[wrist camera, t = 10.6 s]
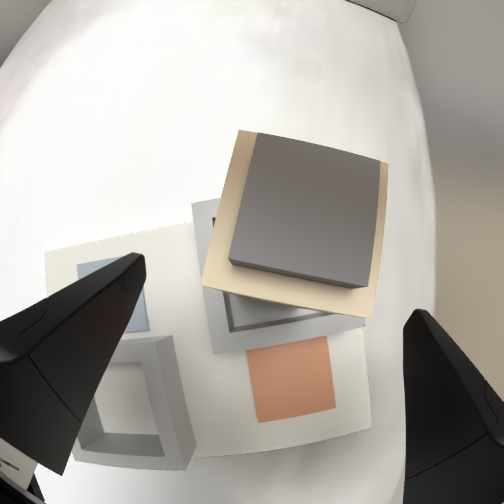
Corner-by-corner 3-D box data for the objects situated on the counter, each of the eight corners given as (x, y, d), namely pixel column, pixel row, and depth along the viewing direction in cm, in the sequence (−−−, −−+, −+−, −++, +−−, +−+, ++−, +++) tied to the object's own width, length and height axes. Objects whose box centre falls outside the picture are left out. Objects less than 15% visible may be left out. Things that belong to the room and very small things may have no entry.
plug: (299, 308, 18) (388, 321, 5) (235, 295, 18) (191, 282, 6) (310, 245, 19) (403, 146, 6) (249, 233, 19) (236, 107, 6)
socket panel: (366, 422, 18) (390, 446, 13) (86, 446, 18) (58, 467, 13) (333, 204, 20) (352, 180, 16) (52, 254, 20) (16, 244, 16)
